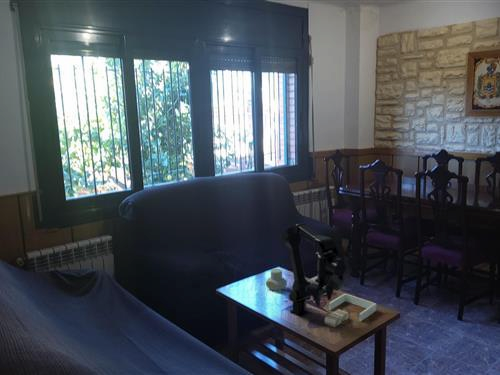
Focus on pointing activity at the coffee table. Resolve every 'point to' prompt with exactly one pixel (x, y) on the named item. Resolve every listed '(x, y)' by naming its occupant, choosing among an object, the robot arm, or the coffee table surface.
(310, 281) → the ceramic mug
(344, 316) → the tile
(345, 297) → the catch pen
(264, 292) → the coffee table surface
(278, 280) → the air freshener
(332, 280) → the robot arm
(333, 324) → the tile
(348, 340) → the coffee table surface
